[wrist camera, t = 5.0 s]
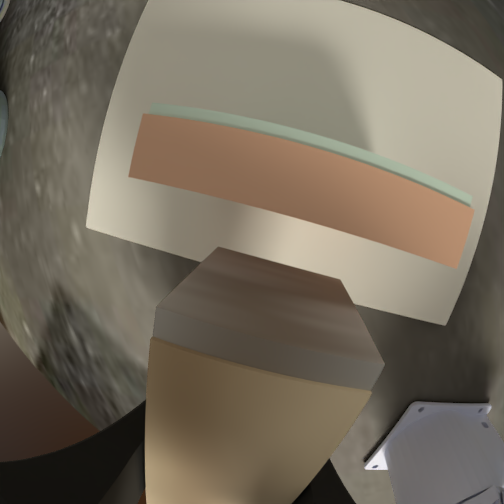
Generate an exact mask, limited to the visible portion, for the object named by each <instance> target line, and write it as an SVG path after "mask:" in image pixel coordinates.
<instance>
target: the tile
mask: <svg viewBox="0 0 504 504" xmlns="http://www.w3.org/2000/svg"><path fill="white" fill-rule="evenodd" d="M128 177H131V178H136V179H140V180H145V181H150V182H154V183H159V184H163V185H167V186H172V187H176V188H180V189H185V190H189V191H193V192H197V193H202V194H206V195H210V196H214V197H218V198H222V199H226V200H230V201H234V202H238V203H242V204H245V205H249V206H253V207H257V208H261V209H264V210H268V211H272V212H276V213H279V214H283V215H287V216H290V217H294V218H297V219H301V220H304V221H308V222H311V223H315V224H318V225H322V226H325V227H329V228H332V229H335V230H339V231H342V232H345V233H349V234H352V235H355V236H358V237H362V238H365V239H368V240H371V241H374V242H378V243H381V244H384V245H387V246H390V247H393V248H396V249H399V250H402V251H405V252H408V253H411V254H414V255H417V256H420V257H423V258H426V259H429V260H432V261H435V262H438V263H441V264H444V265H446V266H449V267H452V268H455V269H457V267H458V264H459V261H460V258H461V255H462V252H463V249H464V246H465V243H466V239H467V236H468V233H469V229H470V226H471V222H472V218H473V215H474V211H475V210H474V209H472V208H470V205H471V201H472V197H473V196H471V195H469V194H467V193H465V192H463V191H461V190H459V189H457V188H455V187H453V186H451V185H449V184H447V183H445V182H443V181H440V180H438V179H436V178H434V177H432V176H429V175H427V174H425V173H423V172H420V171H418V170H416V169H413V168H411V167H408V166H406V165H403V164H401V163H398V162H396V161H393V160H391V159H388V158H386V157H383V156H380V155H378V154H375V153H372V152H369V151H366V150H364V149H361V148H358V147H355V146H352V145H349V144H346V143H343V142H340V141H336V140H333V139H330V138H327V137H323V136H320V135H317V134H313V133H310V132H306V131H302V130H299V129H295V128H291V127H287V126H283V125H279V124H275V123H271V122H267V121H262V120H258V119H253V118H249V117H244V116H239V115H234V114H229V113H223V112H218V111H212V110H206V109H199V108H193V107H186V106H178V105H170V104H162V103H152V104H151V108H150V111H149V114H143V115H142V119H141V123H140V127H139V131H138V135H137V139H136V143H135V147H134V152H133V156H132V161H131V165H130V170H129V175H128Z"/></svg>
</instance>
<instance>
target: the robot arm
mask: <svg viewBox="0 0 504 504" xmlns="http://www.w3.org/2000/svg"><path fill="white" fill-rule="evenodd" d="M490 409H491V405H490V404H489V403H436V402H420V401H416V402H413V403H412V404H411V405H410V406H409V407H408V409H407V410H406V411H405V413H404V414H403V416H402V417H401V419H400V420H399V421H398V423H397V424H396V425H395V427H394V428H393V429H392V431H391V432H390V433H389V435H388V436H387V437H386V438H385V440H384V441H383V442H382V444H381V445H380V446H379V447H378V448H377V450H376V451H375V452H374V453H373V454H372V456H371V457H370V458H369V459H368V460H367V461H366V463H365V464H364V468H365V469H367V470H388V472H389V476H390V480H391V484H392V488H393V492H394V496H395V501H396V504H504V442H503V440H502V439H501V437H500V436H499V434H498V432H497V431H496V429H495V428H494V426H493V425H492V423H491V422H490V420H489V418H488V417H487V413H488V412H489V411H490ZM145 415H146V400H145V401H143V402H142V403H141V404H140V405H139V406H137V407H136V408H135V409H133V410H132V411H131V412H129V413H128V414H126V415H125V416H124V417H122V418H121V419H119V420H118V421H116V422H115V423H113V424H112V425H110V426H108V427H107V428H105V429H103V430H102V431H100V432H98V433H97V434H95V435H93V436H91V437H89V438H87V439H85V440H83V441H80V442H78V443H76V444H73V445H71V446H68V447H66V448H63V449H61V450H58V451H55V452H52V453H48V454H44V455H40V456H37V457H32V458H28V459H23V460H16V461H8V462H0V504H137V503H138V501H139V499H140V497H141V495H142V493H143V490H144V489H145V487H146V482H145ZM292 504H356V503H355V502H354V500H353V499H352V497H351V496H350V494H349V493H348V491H347V489H346V488H345V486H344V485H343V483H342V481H341V479H340V478H339V476H338V474H337V472H336V470H335V468H334V466H333V464H332V462H331V460H330V458H329V459H328V460H327V462H326V463H325V464H324V466H323V467H322V468H321V469H320V471H319V472H318V473H317V474H316V476H315V477H314V478H313V479H312V481H311V482H310V483H309V484H308V485H307V487H306V488H305V489H304V490H303V491H302V492H301V494H300V495H299V496H298V497H297V498H296V499H295V500H294V501H293V502H292Z"/></svg>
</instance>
